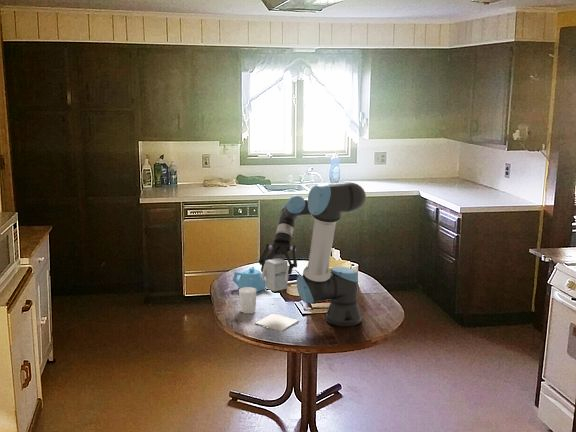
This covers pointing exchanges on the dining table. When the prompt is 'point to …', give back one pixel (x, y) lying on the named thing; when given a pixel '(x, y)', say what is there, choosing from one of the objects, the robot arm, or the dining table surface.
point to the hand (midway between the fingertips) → (274, 279)
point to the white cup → (247, 299)
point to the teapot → (250, 279)
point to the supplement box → (275, 274)
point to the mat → (277, 322)
